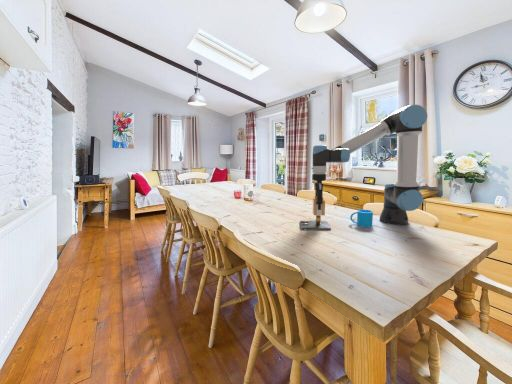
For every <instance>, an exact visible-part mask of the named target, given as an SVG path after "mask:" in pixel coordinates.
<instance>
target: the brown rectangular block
mask: <svg viewBox="0 0 512 384" xmlns="http://www.w3.org/2000/svg"><path fill="white" fill-rule="evenodd" d="M322 202H323V203H322V215H321V216H326V200H325V198H324V197H323V196H322ZM316 203H317V196H315V195H314V198H312V215H313V216H316V215H317V204H316Z"/></svg>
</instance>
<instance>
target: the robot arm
mask: <svg viewBox="0 0 512 384" xmlns="http://www.w3.org/2000/svg"><path fill="white" fill-rule="evenodd" d="M427 119H428V112H427V110H426V108H424V106H423V105H420V104H410V105H406V106H404V107H401V108H400V109H396V110H395V111H394V112H392V113H391V114H390V115H388V116H386V117H385V118H383V119H382V120H380V121H379V123H378V124H376V125H374V126H373V127H371V128H369V129H367V130H365V131H363V132H361V133H359V134H357V135H356V136H354V137H352V138H350V139H348V140H347V141H345V142H343V143H341V144H339V145H338V146H336V147H334V148H328V146H327V145H326V144H325V145H324V144H321V145H319V144H318V145H313V147H312V167H311V170H312V177H311V178H312V179H311V180H312V181H313V182H315V183H314V186H315V188H314V189H315V193H314V197H315V196H317V203H316V204H317V215H320V216H323V215H322V203H323V202H322V196H323V190H324V188H323V187H324V183H322V182H324V181H327V174H326V173H327V163H333V164H334V163H342V164H344V163H349V162H350V158H351V154H353V153H355V152H356V151H358V150H360V149H362V148H364V147H366V146H367V145H369V144H371V143H374V142H375V141H377V140H379V139H381V138H383V137H385V136H390V135H393V134H394V133H395V135H397V137H398V156H397V157H398V158H397V160H398V161H397V181H396V182H395V183H386V184H385V185H384V189H383V190H384V191H383V193H384V196H383V208H382V211H381V213H380V215H379V221H380V222H382V223H384V224H388V225H389V224H390V225H400V226H401V225H403V226H404V225H407V224H409V217H408V213H407V212H412V211H416V210H417V209H419V208H420V207H421V206H422V204H423V202H424V196H423V194H422V193H421V191H420V188H421V187H420V186H421V185H420V184H419V183H418V182H417V176H418V175H417V173H418V154H419V153H418V152H419V135H421V134H422V133H423V126H424V124H425V123H426V122H427Z"/></svg>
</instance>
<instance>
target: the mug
mask: <svg viewBox="0 0 512 384" xmlns="http://www.w3.org/2000/svg"><path fill="white" fill-rule="evenodd" d="M355 214H357V215H356V217H357V218H356V221H354V219H353V217H354V215H355ZM373 215H374V211H372V210H370V209H358V210H357V211H355V212H353V213H351V215H350V220H351V222H352V223H354V224H356V225H357V226H359V227H362V228H363V227H364V228H368V227H369V228H370V227H373V217H374V216H373Z"/></svg>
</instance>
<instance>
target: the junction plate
mask: <svg viewBox="0 0 512 384" xmlns="http://www.w3.org/2000/svg"><path fill="white" fill-rule="evenodd" d="M321 218H322V215H315V220H300V221H299V223H300V230H304V231H307V230H309V231H311V230H312V231H331V230H332V228H331V226H330V224H329V222H328V221H327V220H322V219H321Z"/></svg>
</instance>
